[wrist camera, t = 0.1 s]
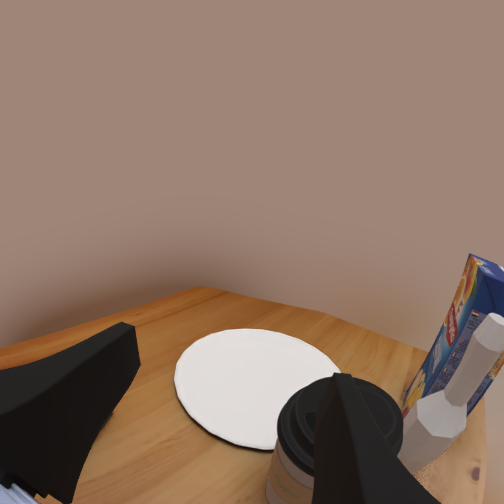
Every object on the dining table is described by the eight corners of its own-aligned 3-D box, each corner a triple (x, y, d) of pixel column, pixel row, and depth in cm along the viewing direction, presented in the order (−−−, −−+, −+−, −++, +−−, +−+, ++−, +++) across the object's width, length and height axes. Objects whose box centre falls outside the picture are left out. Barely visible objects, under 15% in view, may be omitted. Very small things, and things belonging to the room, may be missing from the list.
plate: (143, 360, 36) (142, 354, 36) (262, 319, 53) (263, 314, 53) (263, 490, 20) (265, 486, 19) (372, 386, 37) (375, 380, 36)
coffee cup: (228, 489, 19) (252, 408, 15) (291, 446, 26) (334, 354, 21) (296, 544, 13) (375, 496, 8) (352, 489, 19) (428, 406, 15)
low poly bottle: (362, 455, 24) (457, 298, 17) (404, 451, 24) (498, 304, 17) (370, 496, 18) (500, 339, 11) (415, 487, 18) (536, 338, 11)
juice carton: (434, 453, 22) (536, 296, 15) (391, 438, 26) (484, 273, 19) (442, 403, 32) (510, 269, 24) (407, 389, 36) (469, 253, 28)
